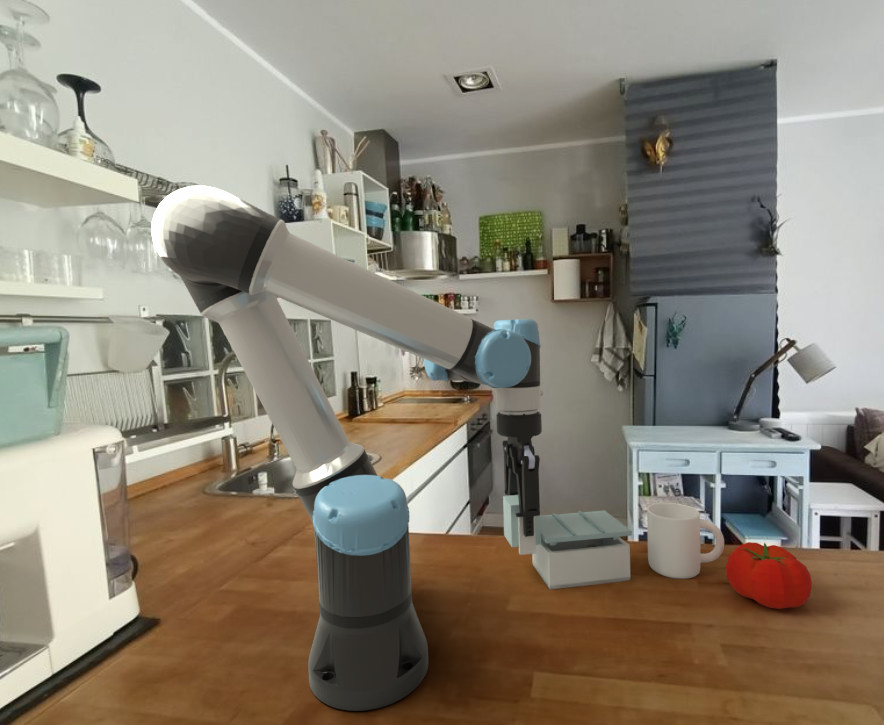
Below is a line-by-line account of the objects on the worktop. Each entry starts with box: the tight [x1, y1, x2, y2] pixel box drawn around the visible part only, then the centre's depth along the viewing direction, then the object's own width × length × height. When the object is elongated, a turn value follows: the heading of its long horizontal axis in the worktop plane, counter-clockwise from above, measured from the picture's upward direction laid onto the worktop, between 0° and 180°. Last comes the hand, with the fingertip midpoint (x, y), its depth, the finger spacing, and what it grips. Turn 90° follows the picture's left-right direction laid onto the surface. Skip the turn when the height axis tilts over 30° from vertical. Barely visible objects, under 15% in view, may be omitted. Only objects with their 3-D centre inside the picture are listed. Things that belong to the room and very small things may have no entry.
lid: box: [502, 495, 633, 548], centre depth 84 cm, size 10×20×7 cm, turn 98°
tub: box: [531, 537, 631, 590], centre depth 85 cm, size 9×14×6 cm, turn 98°
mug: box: [646, 502, 725, 580], centre depth 84 cm, size 12×8×10 cm
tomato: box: [725, 542, 813, 610], centre depth 74 cm, size 11×11×8 cm
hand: (522, 545), depth 84 cm, fingers closed on lid, 5 cm apart
